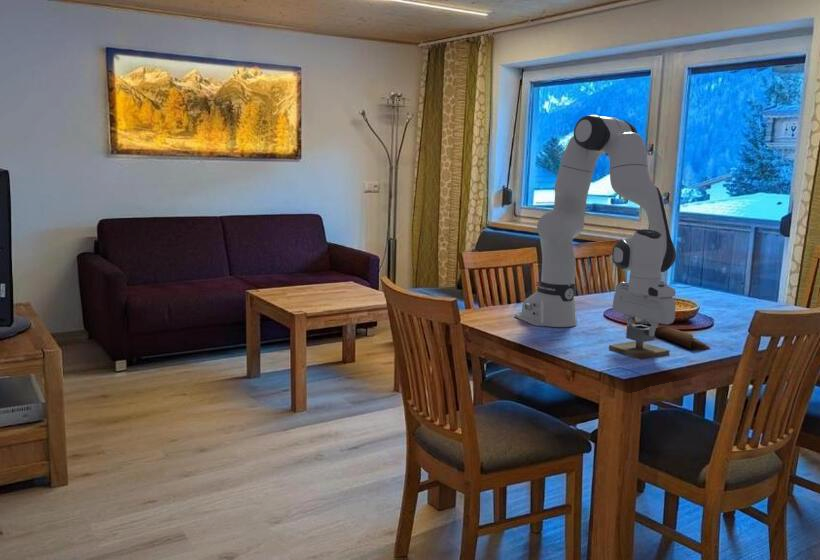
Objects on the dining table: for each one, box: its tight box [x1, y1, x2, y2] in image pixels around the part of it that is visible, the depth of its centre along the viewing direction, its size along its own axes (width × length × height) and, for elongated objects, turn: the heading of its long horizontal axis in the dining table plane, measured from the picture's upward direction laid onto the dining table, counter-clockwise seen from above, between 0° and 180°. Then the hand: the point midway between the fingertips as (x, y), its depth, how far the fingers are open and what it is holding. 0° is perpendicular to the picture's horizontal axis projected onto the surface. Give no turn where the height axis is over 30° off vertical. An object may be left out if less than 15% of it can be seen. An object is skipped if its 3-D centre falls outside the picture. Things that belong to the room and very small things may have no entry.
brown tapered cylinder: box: [655, 326, 712, 352], centre depth 223 cm, size 18×7×7 cm
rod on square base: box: [608, 328, 670, 360], centre depth 210 cm, size 12×12×7 cm
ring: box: [625, 323, 656, 343], centre depth 210 cm, size 6×6×4 cm
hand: (640, 332), depth 210 cm, fingers closed on ring, 6 cm apart
